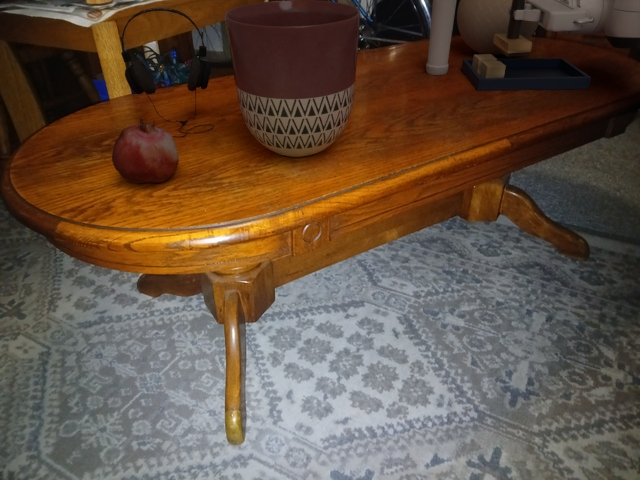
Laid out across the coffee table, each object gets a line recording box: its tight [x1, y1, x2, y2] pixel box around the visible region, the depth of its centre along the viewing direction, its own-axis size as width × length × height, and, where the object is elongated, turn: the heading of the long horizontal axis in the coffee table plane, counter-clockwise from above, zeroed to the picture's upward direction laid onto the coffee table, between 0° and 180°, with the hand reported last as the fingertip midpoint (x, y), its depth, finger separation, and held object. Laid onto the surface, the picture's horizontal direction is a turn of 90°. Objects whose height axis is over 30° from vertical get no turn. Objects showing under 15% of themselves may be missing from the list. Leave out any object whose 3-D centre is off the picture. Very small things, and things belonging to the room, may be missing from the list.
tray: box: [460, 57, 592, 92], centre depth 115 cm, size 24×16×2 cm, turn 90°
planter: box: [224, 0, 361, 158], centre depth 80 cm, size 20×20×21 cm
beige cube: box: [480, 61, 506, 78], centre depth 112 cm, size 4×4×4 cm
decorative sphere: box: [456, 0, 539, 57], centre depth 128 cm, size 20×20×20 cm
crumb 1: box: [472, 53, 498, 75], centre depth 116 cm, size 4×4×4 cm
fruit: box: [111, 116, 180, 184], centre depth 75 cm, size 9×10×10 cm
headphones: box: [119, 6, 215, 138], centre depth 90 cm, size 15×11×20 cm
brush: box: [493, 0, 533, 58], centre depth 109 cm, size 5×9×13 cm, turn 3°
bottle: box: [425, 0, 457, 76], centre depth 114 cm, size 5×5×25 cm
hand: (511, 12), depth 108 cm, fingers closed on brush, 2 cm apart
